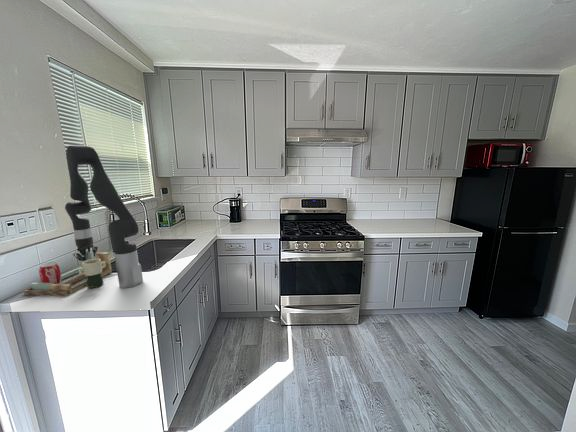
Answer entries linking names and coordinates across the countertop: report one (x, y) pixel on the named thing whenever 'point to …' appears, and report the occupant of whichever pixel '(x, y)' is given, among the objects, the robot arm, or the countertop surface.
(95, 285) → the character mug
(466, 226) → the countertop surface
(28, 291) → the frame
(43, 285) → the sage sled
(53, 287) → the oak sled
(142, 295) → the countertop surface
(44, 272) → the soda can
